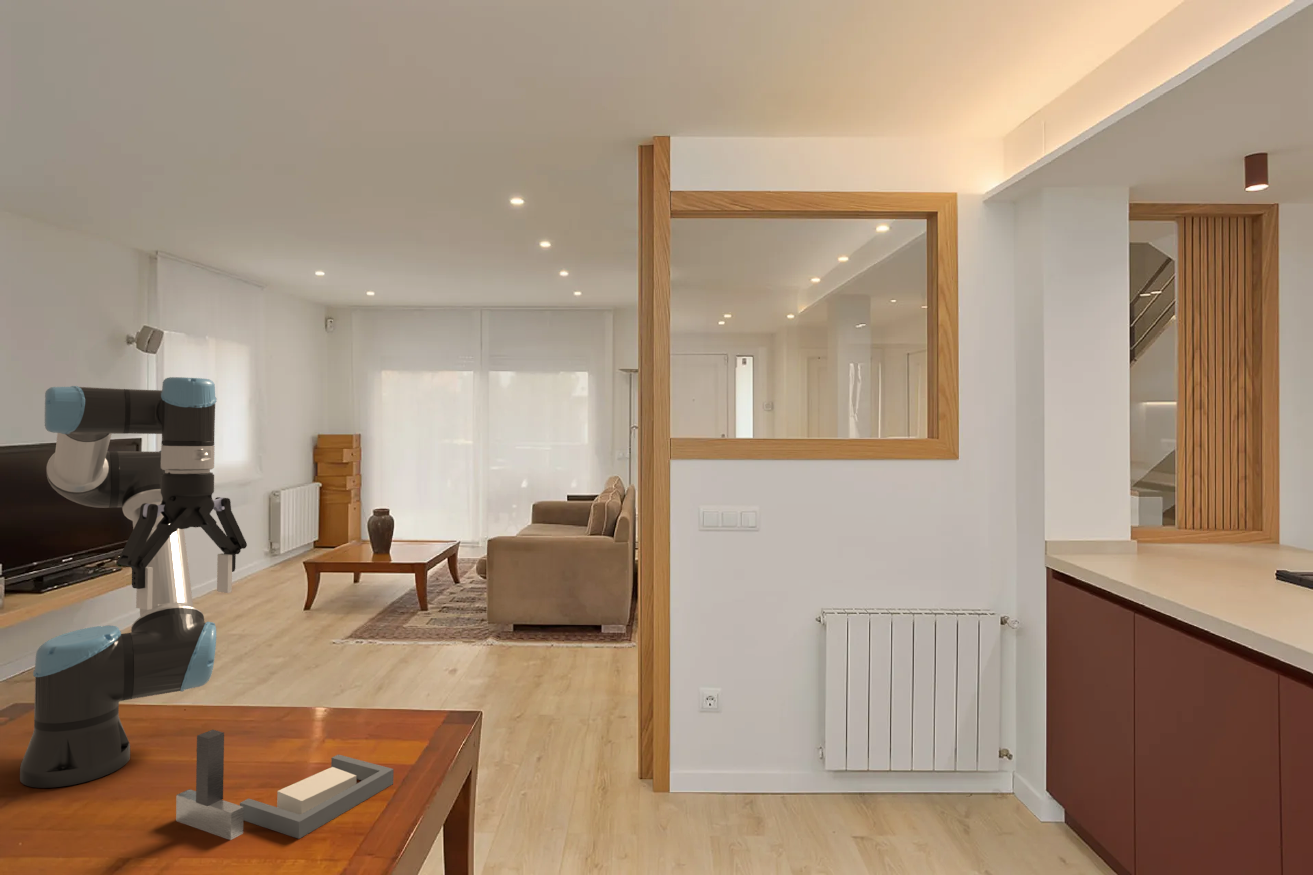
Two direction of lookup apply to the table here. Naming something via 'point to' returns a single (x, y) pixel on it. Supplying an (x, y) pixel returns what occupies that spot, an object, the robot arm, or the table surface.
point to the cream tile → (314, 790)
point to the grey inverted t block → (210, 792)
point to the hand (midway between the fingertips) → (186, 599)
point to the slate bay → (301, 825)
